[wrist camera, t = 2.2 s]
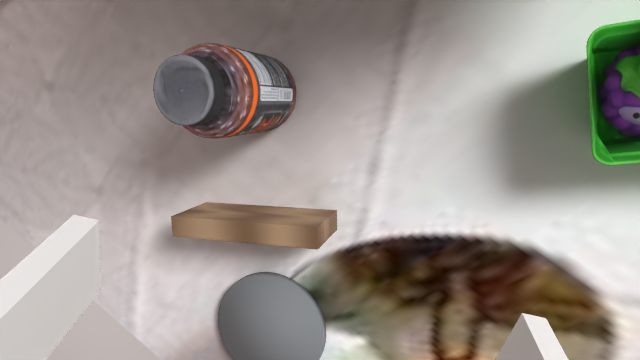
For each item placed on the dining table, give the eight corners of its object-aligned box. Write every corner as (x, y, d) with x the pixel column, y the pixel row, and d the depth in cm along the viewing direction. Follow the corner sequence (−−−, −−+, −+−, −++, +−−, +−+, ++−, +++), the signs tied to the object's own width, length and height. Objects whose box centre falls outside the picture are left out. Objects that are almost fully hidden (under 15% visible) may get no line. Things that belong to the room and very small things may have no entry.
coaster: (207, 285, 40) (202, 289, 39) (302, 260, 37) (299, 263, 36) (245, 384, 41) (241, 389, 40) (342, 368, 37) (339, 373, 36)
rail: (207, 219, 39) (172, 236, 34) (206, 202, 38) (171, 216, 34) (336, 229, 35) (317, 249, 30) (336, 210, 35) (317, 227, 30)
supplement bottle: (249, 142, 36) (162, 159, 26) (220, 76, 36) (120, 65, 25) (311, 112, 34) (243, 117, 24) (280, 42, 34) (199, 15, 23)
